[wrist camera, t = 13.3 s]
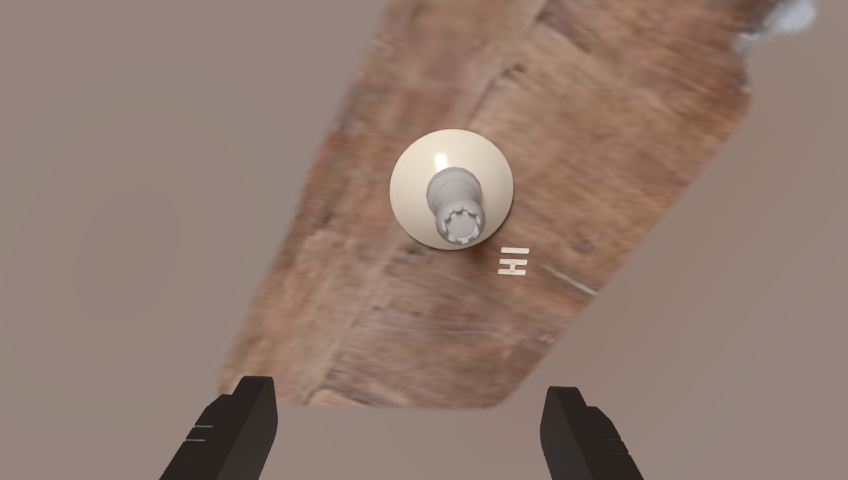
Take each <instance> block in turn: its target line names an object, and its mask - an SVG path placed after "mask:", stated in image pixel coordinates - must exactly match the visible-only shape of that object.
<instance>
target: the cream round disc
mask: <svg viewBox="0 0 848 480" xmlns="http://www.w3.org/2000/svg"><path fill="white" fill-rule="evenodd" d="M449 167H460V168H465V169H466V170H468V171H470V172H471V173H473V174H474V175H475V177H476V178H477V179H478V181H479V182H480V186H481V191H482V201H481V205H480V207H481V208H482V209H483V211H484V214H485V219H486V222H485V227H484V230H483V232H482V233H481V235H480V236H479V237H478V238H477V239H476V240H474V241H473V242H471V243H469V244H466V245H457V244H451V243H449V242H447V241H446V240H444V239H443V238H442V237H441V236H440V234H439V233H438V232H437V228H436V224H435V221H436V217H435V215H434V214H433V213H432V211H431V210H430V209H429V206H428V202H427V198H426V192H427V185H428V183H429V182H430V180H431V179H432V177H433V176H434V175H435V174H436V173H438V172H439V171H441V170H442V169H445V168H449ZM512 198H513V178H512V173H511V170H510V167H509V165H508V163H507V161H506V159H505V157H504V156H503V155H502V153H501V152H500V151H499V150H498V149H497V147H496V146H495V145H494V144H492V143H491V142H490V141H489V140H487V139H486V138H484V137H482V136H481V135H479V134H476V133H474V132H471V131H467V130H462V129H444V130H438V131H435V132H431V133H429V134H427V135H424V136H422V137H421V138H419V139H418V140H416V141H415V142H414V143H412V144H411V145H410V146H409V147H408V148H407V149H406V150H405V151H404V152H403V154H402V155H401V157H400V158H399V160H398V162H397V163H396V165H395V168H394V171H393V174H392V178H391V182H390V200H391V205H392V208H393V211H394V214H395V216H396V218H397V220H398V222H399V223H400V225H401V226H402V227H403V228H404V230H405V231H406V232H407V233H408V234H409V235H411V236H412V237H413V238H414V239H416V240H417V241H419V242H421V243H423V244H425V245H428V246H430V247H434V248H438V249H445V250H455V249H462V248H466V247H470V246H473V245H475V244H477V243H479V242H481V241H483V240H485V239H486V238H488V237H489V236H490V235H491V234H493V233H494V232H495V231H496V230H497V229H498V227H499V226H500V225H501V224H502V222H503V221H504V219H505V218H506V216H507V214H508V212H509V209H510V206H511V203H512Z"/></svg>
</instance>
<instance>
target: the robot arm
mask: <svg viewBox="0 0 848 480" xmlns="http://www.w3.org/2000/svg"><path fill="white" fill-rule="evenodd" d="M277 423H278V415H277V406H276V398H275V389H274V381H273V378H272V377H266V376H244V377H243V378H242V379H241V380H240V382H239V384H238V385H237V387H236V389H235V390H234V392H233V394H232V395H227V394H222V395H221V396H219V397H218V398H217V399H216V400H215V401H214V402H212V403H211V404H210V405H209V406H207V407H206V408H205V410H204V411H203V413H202V414H201V416H200V417H199V419H198V420H197V422H196V423H195V427H194V428H192V430H191V431H190V433H189V434H188V436H187V437H186V441H185V442H183V444H182V445H181V447H180V448H179V450H178V451H177V453H176V454H175V456H174V457H173V459H172V460H171V462H170V464H169V465H168V467H167V468H166V470H165V471H164V473H163V475H162V476H161V478H160V479H159V480H258V479H259V476H260V474H261V472H262V469H263V466H264V464H265V461H266V459H267V457H268V454H269V452H270V449H271V447H272V444H273V442H274V439H275V435H276V431H277ZM540 439H541V445H542V449H543V452H544V456H545V459H546V461H547V465H548V468H549V471H550V474H551V477H552V480H644V479H643V477H642V476H641V474H640V472H639V470H638V468H637V466H636V464H635V463H634V461H633V459H632V457H631V456H630V455H629V454H628V450H627V448H626V446H625V445H624V443H623V441H621V437H620V436H619V434H618V432H617V430H616V428H615V426H614V425H613V423H612V421H611V420H610V419H609V418H608V417H606V415H605V414H604V413H603V412H602V411H600V410H599V409H598V408H597V407H592V406H591V407H590V406H587V405H586V403H585V401H584V399H583V397H582V395H581V393H580V391H579V390H578V388H576V387H557V386H550V387H549V388H548V391H547V396H546V400H545V405H544V410H543V415H542V420H541V425H540Z"/></svg>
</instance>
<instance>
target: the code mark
mask: <svg viewBox="0 0 848 480" xmlns="http://www.w3.org/2000/svg"><path fill="white" fill-rule="evenodd" d="M501 252H503V253H522V254H528V253H529V249H524V248H505V247H502V248H501ZM499 264H510V270H509V269H498V274H510V275H525V270H515V265H527V260H514V259H500V262H499Z"/></svg>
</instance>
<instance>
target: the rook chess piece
mask: <svg viewBox="0 0 848 480" xmlns="http://www.w3.org/2000/svg"><path fill="white" fill-rule="evenodd" d="M426 198H427V202H428V206H429V209H430V210H431V211H432V213H433V214H434V215H435V217H436V221H435V224H436V228H437V232H438V233H439V234H440V236H441V237H442V238H443V239H444V240H446V241H447V242H449V243H451V244H457V245H466V244H469V243H471V242H473V241H474V240H476V239H477V238H478V237H479V236H480V235H481V233H482V232H483V230H484V227H485V222H486V219H485V214H484V211H483V209H482V208H481V207H480V205H481V201H482V191H481V186H480V182H479V181H478V179H477V178H476V177H475V175H474V174H473V173H471V172H470V171H468V170H466V169H465V168H460V167H449V168H445V169H442V170H441V171H439V172H438V173H436V174H435V175H434V176H433V177H432V179H431V180H430V182H429V183H428V185H427V192H426Z"/></svg>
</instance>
